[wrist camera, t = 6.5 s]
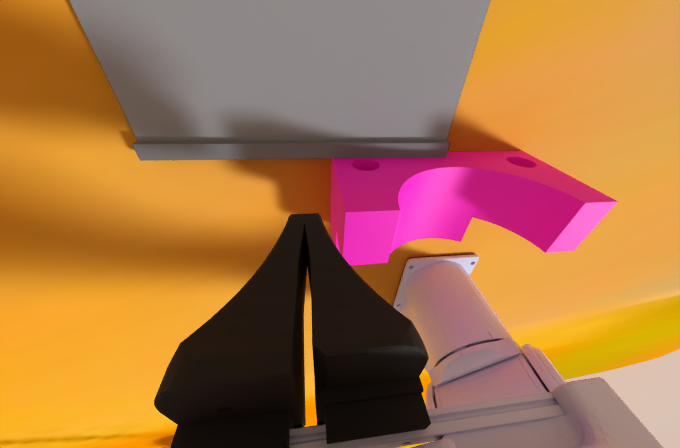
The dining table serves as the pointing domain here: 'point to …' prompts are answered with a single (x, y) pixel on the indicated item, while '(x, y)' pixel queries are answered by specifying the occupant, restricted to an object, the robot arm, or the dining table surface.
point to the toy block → (456, 201)
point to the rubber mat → (285, 74)
